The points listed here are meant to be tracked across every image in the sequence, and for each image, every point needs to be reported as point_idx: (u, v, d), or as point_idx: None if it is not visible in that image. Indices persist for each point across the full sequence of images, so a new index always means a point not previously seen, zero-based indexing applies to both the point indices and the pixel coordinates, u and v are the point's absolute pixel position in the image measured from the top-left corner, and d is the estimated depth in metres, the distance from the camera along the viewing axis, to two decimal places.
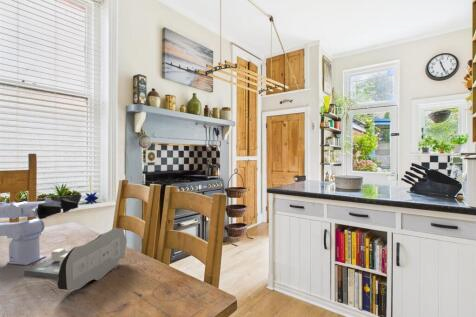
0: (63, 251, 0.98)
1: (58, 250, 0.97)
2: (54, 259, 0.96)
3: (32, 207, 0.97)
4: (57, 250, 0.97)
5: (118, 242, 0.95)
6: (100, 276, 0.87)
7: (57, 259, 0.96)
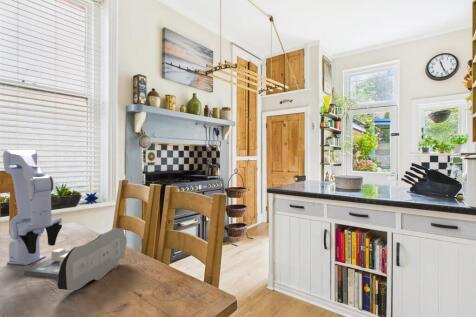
0: (63, 251, 0.98)
1: (58, 250, 0.97)
2: (54, 259, 0.96)
3: (36, 213, 0.88)
4: (57, 250, 0.97)
5: (118, 242, 0.95)
6: (100, 276, 0.87)
7: (57, 259, 0.96)
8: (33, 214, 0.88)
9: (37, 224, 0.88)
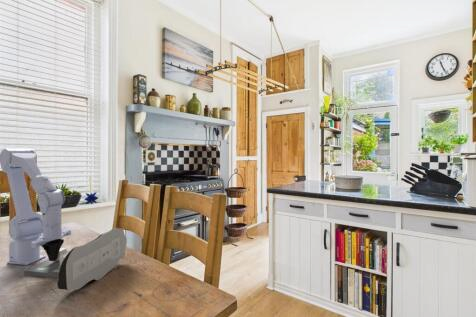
0: (64, 250, 0.98)
1: None
2: None
3: (48, 226, 0.92)
4: None
5: (118, 242, 0.95)
6: (100, 276, 0.87)
7: (58, 258, 0.96)
8: (45, 227, 0.92)
9: (48, 237, 0.92)
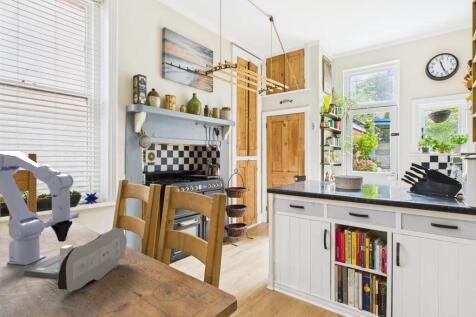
0: (71, 247, 1.01)
1: (66, 247, 1.01)
2: None
3: (57, 208, 0.96)
4: (65, 247, 1.01)
5: (118, 242, 0.95)
6: (100, 276, 0.87)
7: None
8: (54, 209, 0.96)
9: (58, 218, 0.96)
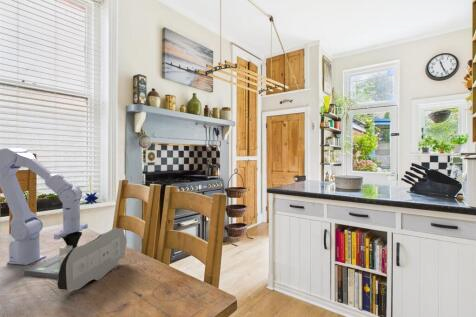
0: (70, 248, 1.01)
1: (65, 247, 1.00)
2: None
3: (68, 220, 1.00)
4: (65, 247, 1.00)
5: (118, 242, 0.95)
6: (100, 276, 0.87)
7: None
8: (65, 221, 1.00)
9: (69, 229, 1.01)
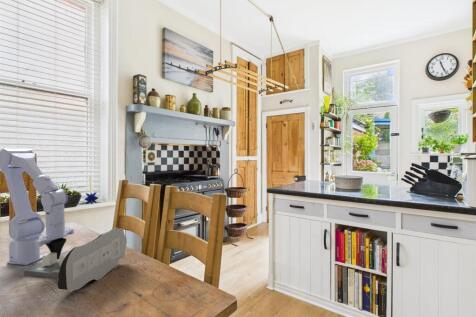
0: (54, 255, 0.94)
1: (49, 254, 0.93)
2: (45, 263, 0.92)
3: (51, 225, 0.93)
4: (48, 254, 0.93)
5: (118, 242, 0.95)
6: (100, 276, 0.87)
7: (48, 263, 0.92)
8: (48, 226, 0.93)
9: (52, 236, 0.93)
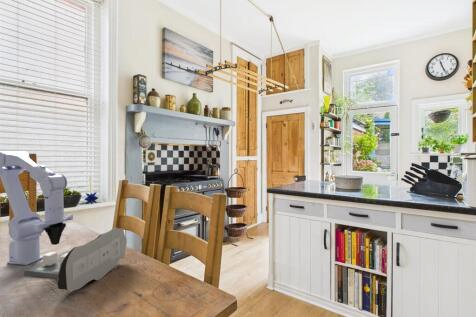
0: (55, 255, 0.94)
1: (49, 254, 0.94)
2: (45, 263, 0.93)
3: (50, 210, 0.93)
4: (48, 254, 0.94)
5: (118, 242, 0.95)
6: (100, 276, 0.87)
7: (48, 263, 0.92)
8: (47, 211, 0.93)
9: (51, 220, 0.93)
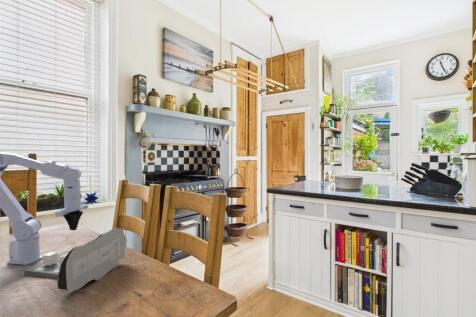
0: (55, 255, 0.94)
1: (49, 254, 0.94)
2: (45, 263, 0.93)
3: (69, 198, 1.03)
4: (48, 254, 0.94)
5: (118, 242, 0.95)
6: (100, 276, 0.87)
7: (48, 263, 0.92)
8: (66, 199, 1.03)
9: (70, 208, 1.03)
